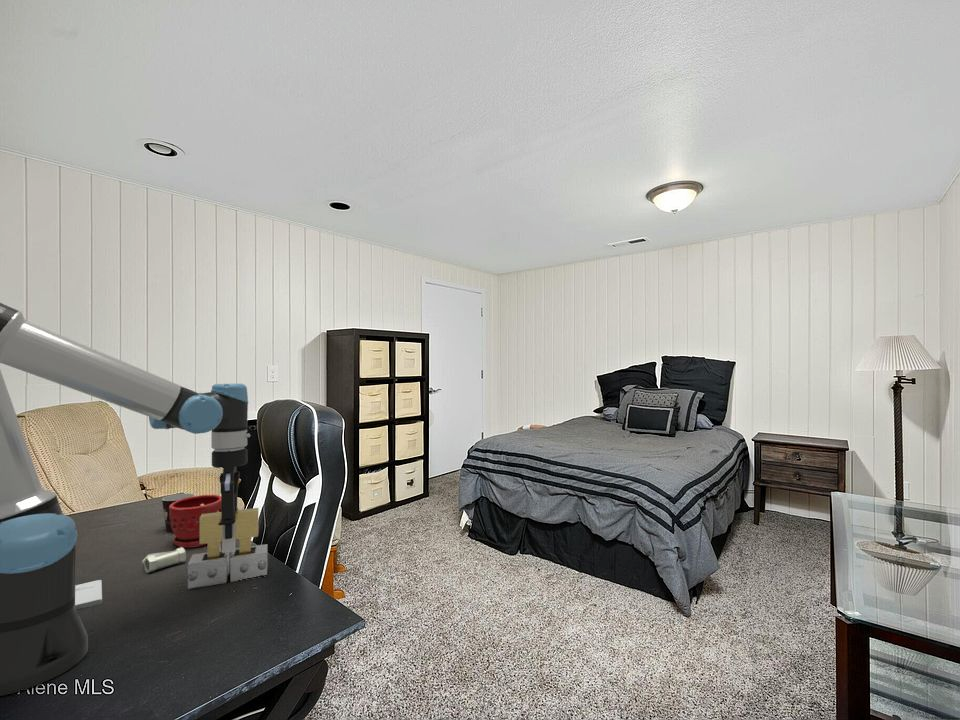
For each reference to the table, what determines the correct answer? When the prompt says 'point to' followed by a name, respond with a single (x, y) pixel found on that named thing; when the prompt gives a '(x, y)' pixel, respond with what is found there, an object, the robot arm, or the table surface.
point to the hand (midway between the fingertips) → (229, 548)
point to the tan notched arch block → (213, 531)
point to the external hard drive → (88, 594)
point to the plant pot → (191, 518)
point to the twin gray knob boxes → (226, 567)
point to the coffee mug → (167, 502)
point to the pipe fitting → (163, 559)
